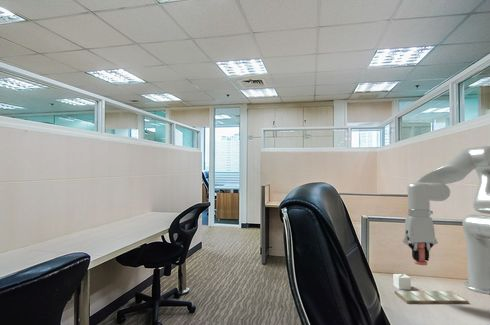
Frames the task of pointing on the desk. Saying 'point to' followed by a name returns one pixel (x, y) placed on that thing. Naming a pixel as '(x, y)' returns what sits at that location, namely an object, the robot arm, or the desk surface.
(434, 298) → the board
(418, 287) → the desk surface
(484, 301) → the desk surface
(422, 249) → the pawn
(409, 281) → the die
